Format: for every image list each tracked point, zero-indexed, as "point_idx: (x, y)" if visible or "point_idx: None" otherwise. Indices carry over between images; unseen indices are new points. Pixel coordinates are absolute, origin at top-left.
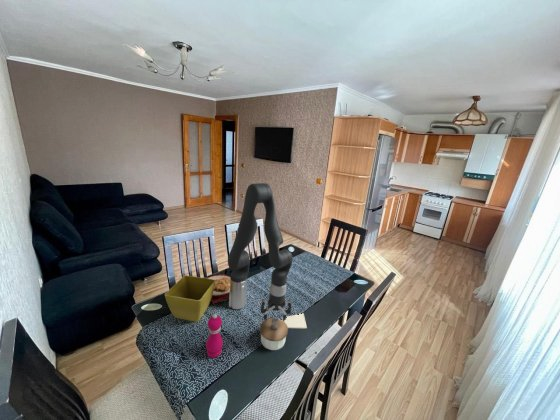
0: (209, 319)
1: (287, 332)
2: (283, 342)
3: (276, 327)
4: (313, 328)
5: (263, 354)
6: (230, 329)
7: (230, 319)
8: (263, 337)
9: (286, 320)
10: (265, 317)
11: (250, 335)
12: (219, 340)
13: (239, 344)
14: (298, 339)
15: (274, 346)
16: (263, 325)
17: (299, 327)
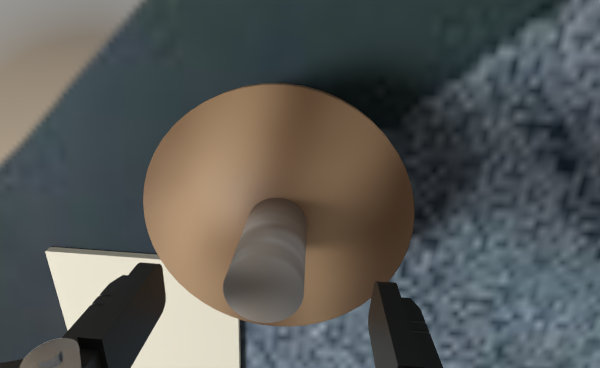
0: None
1: (150, 173)
2: None
3: (252, 217)
4: (6, 245)
5: (371, 51)
6: (568, 268)
7: (549, 336)
8: None
9: (184, 309)
10: (408, 320)
11: (441, 216)
12: None
13: (534, 148)
14: (105, 167)
15: None
16: (374, 257)
17: (96, 255)
